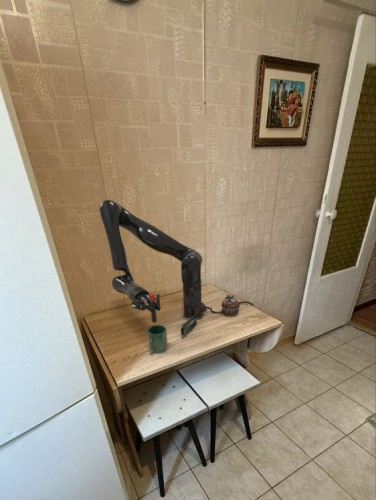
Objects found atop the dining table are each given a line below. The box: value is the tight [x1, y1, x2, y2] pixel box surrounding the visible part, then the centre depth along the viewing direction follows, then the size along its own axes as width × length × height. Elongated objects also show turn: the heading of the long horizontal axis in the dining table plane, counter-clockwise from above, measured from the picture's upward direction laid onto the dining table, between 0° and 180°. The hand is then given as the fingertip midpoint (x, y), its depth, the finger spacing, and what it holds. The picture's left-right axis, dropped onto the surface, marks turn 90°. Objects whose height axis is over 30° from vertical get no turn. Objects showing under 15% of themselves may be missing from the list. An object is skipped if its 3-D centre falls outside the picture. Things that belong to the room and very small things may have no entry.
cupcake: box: [220, 294, 241, 318], centre depth 146 cm, size 10×10×10 cm
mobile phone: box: [180, 316, 198, 339], centre depth 134 cm, size 5×3×15 cm
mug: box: [147, 324, 169, 354], centre depth 120 cm, size 11×8×10 cm
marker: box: [149, 293, 158, 324], centre depth 114 cm, size 2×2×12 cm
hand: (156, 309), depth 111 cm, fingers closed on marker, 2 cm apart
